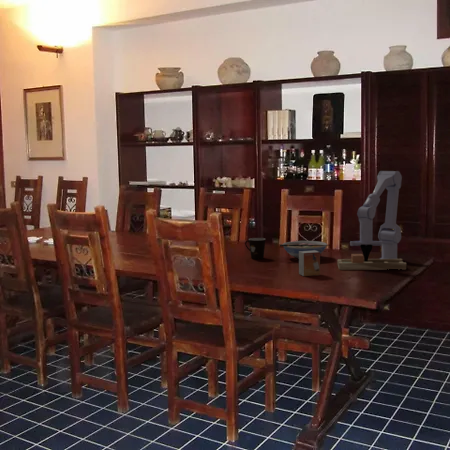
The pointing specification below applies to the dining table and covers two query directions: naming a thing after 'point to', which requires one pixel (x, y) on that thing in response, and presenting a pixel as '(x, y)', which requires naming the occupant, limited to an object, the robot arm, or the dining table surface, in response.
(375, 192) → the robot arm
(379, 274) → the dining table surface
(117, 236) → the dining table surface
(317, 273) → the small box
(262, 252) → the coffee mug
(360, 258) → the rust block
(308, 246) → the ramen bowl
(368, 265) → the trap lane
